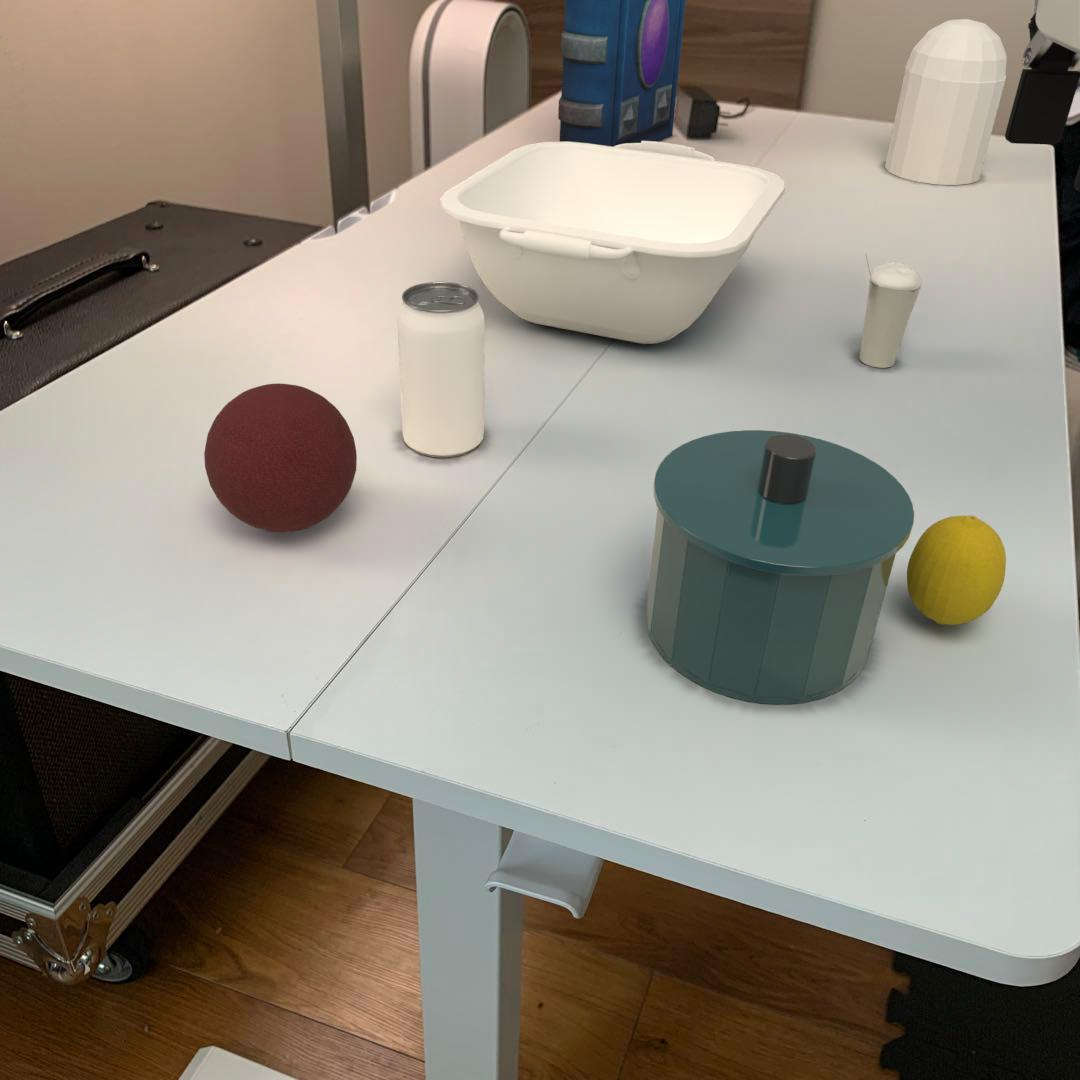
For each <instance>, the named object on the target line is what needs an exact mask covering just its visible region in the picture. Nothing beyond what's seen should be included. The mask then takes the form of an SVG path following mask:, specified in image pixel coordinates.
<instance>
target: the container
mask: <svg viewBox="0 0 1080 1080" xmlns="http://www.w3.org/2000/svg"><path fill="white" fill-rule="evenodd" d="M1007 60H1008V55H1007V52H1006V49H1005V47H1004V44H1003V41H1002V38H1001V36H999V34H998V33H996V32H995V31H994V30H993V29H992V28H991V27H990V26H989V25H988V24H987V23H984V22H981V21H977V20H974V19H969V18H960V19H948V20H946V21H944V22H942V23H940V24H938V25H936V26H934V27H933V28H931V29H929V30H928V31H927V32H926V33H925V34H924V35H923V36H922V37H921V39H920V40H919V41H918V42H917V43H916V44H915V46H914V47H913V48H912V50H911V52H910V55H909V57H908V59H907V62H906V65H905V67H904V74H903V79H902V85H901V89H900V93H899V97H898V103H897V106H896V110H895V111H896V112H895V117H894V121H893V127H892V131H891V136H890V140H889V145H888V149H887V155H886V160H885V163H884V164H885V165H884V168H885V170H886V171H887V172H888V173H890V174H892V175H894V176H895V177H896V176H897V177H898V178H902V179H905V180H909V181H913V182H917V183H924V184H929V185H930V184H931V185H938V186H939V185H941V186H959V185H960V186H961V185H969V184H973V183H976V182H978V181H979V180H980V178H981V174H982V171H983V167H984V164H985V161H986V160H985V159H986V156H987V152H988V149H989V144H990V140H991V137H992V134H993V130H994V129H993V128H994V126H995V122H996V118H997V113H998V111H999V107H1000V102H1001V99H1002V94H1003V90H1004V87H1005V83H1006V79H1007Z"/></svg>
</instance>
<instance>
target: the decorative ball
mask: <svg viewBox="0 0 1080 1080" xmlns="http://www.w3.org/2000/svg"><path fill="white" fill-rule="evenodd" d="M203 454H204V457H203V458H204V469H205V472H206V476H207V480H208V482H209V486H210V488H211V490H212V492H213V493H214V495H215V497H216V498H217V500H218V501H219V503H220V504H221V505H222V506H223V507H224V508H225V510H227V511H228V512H229V513H230V514H231V515H232V516H233V517H234V518H236V519H238V520H239V521H241V522H243V523H244V524H246V525H248V526H251V527H253V528H257V529H260V530H262V531H266V532H272V533H292V532H298V531H302V530H305V529H309V528H310V527H313V526H315V525H317V524H319V523H321V522H323V521H324V520H326V519H328V518H329V517H330V516H331V515H332V514H333V513H334V512H336V510H338V508H339V507H341V505H342V504H343V502H344V501H345V500H346V498H347V496H348V495H349V493H350V491H351V489H352V486H353V482H354V480H355V477H356V472H357V461H358V459H357V458H358V456H357V447H356V442H355V437H354V435H353V432H352V431H351V428H350V426H349V424H348V422H347V420H346V419H345V417H344V415H342V413H341V412H340V410H339V409H338V408H337V406H335V405H334V404H333V403H331V402H330V401H329V400H328V399H327V398H326V397H324V396H322V395H321V394H320V393H317V392H315V391H314V390H311V389H309V388H307V387H304V386H301V385H297V384H291V383H268V384H263V385H258V386H256V387H252V388H249V389H247V390H244V391H243V392H241V393H239V394H238V395H237V396H235V397H233V399H231V400H230V401H228V402H227V403H226V404H225V405H224V406H223V407H222V409H221V410H220V411H219V412H218V414H217V415H216V417H215V418H214V419H213V422H212V424H211V426H210V427H209V430H208V433H207V436H206V441H205V447H204V453H203Z"/></svg>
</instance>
